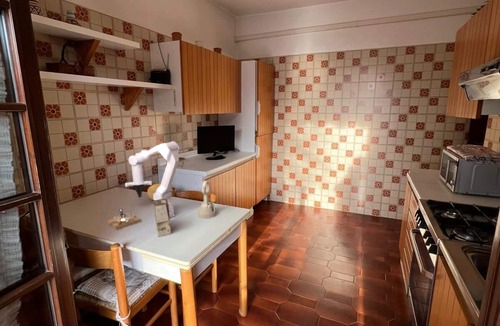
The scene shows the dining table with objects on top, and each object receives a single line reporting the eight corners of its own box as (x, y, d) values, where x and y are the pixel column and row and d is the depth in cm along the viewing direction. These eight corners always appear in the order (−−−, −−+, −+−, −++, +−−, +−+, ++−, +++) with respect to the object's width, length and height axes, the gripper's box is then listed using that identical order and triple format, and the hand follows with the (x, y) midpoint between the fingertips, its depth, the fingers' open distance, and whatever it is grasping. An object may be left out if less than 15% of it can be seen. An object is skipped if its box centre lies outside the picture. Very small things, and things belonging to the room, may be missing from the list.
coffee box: (171, 234, 132) (168, 203, 129) (157, 236, 130) (155, 206, 126) (169, 226, 140) (166, 198, 137) (156, 229, 138) (153, 200, 134)
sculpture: (154, 203, 175) (152, 187, 173) (145, 199, 183) (143, 184, 180) (169, 198, 184) (168, 183, 181) (160, 194, 191) (158, 180, 189)
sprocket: (130, 213, 153) (129, 205, 152) (137, 219, 146) (136, 210, 144) (110, 219, 146) (109, 210, 145) (116, 225, 139) (115, 216, 137)
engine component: (195, 218, 151) (211, 219, 149) (193, 183, 147) (210, 184, 145) (202, 210, 161) (218, 211, 159) (200, 178, 157) (216, 179, 155)
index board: (141, 221, 147) (140, 214, 146) (117, 230, 137) (116, 222, 136) (130, 215, 155) (130, 208, 154) (107, 222, 146) (106, 215, 145)
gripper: (151, 172, 162) (153, 193, 164) (125, 174, 158) (128, 195, 161) (150, 175, 155) (152, 197, 158) (123, 177, 151) (126, 199, 154)
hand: (140, 196), depth 159 cm, fingers closed
